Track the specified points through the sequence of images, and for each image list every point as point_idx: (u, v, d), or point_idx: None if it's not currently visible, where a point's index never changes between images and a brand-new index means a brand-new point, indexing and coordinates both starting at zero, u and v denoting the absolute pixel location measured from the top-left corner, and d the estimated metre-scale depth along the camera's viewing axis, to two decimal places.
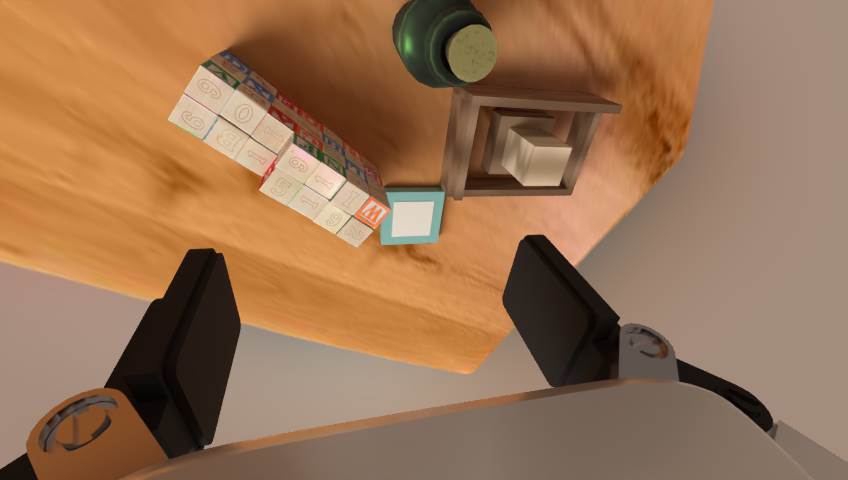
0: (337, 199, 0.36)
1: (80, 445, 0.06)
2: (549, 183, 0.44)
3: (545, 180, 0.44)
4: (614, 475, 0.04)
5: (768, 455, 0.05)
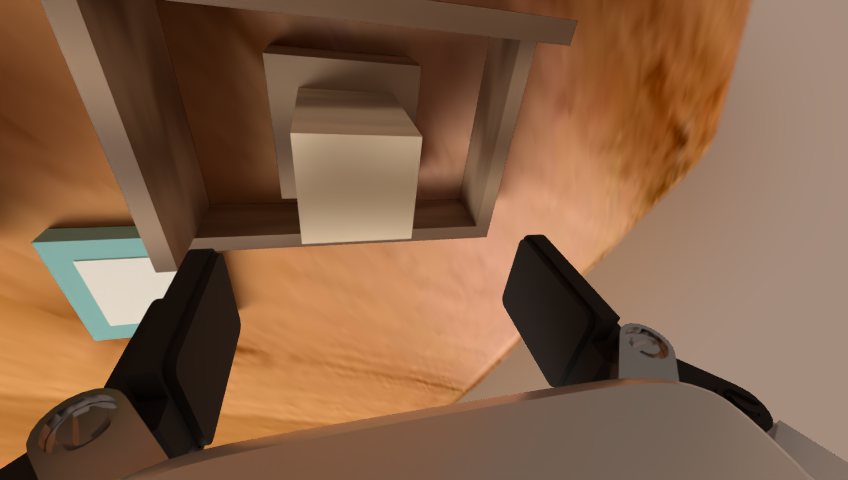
0: None
1: (80, 446, 0.06)
2: (380, 234, 0.16)
3: (365, 227, 0.16)
4: (614, 475, 0.04)
5: (768, 455, 0.05)
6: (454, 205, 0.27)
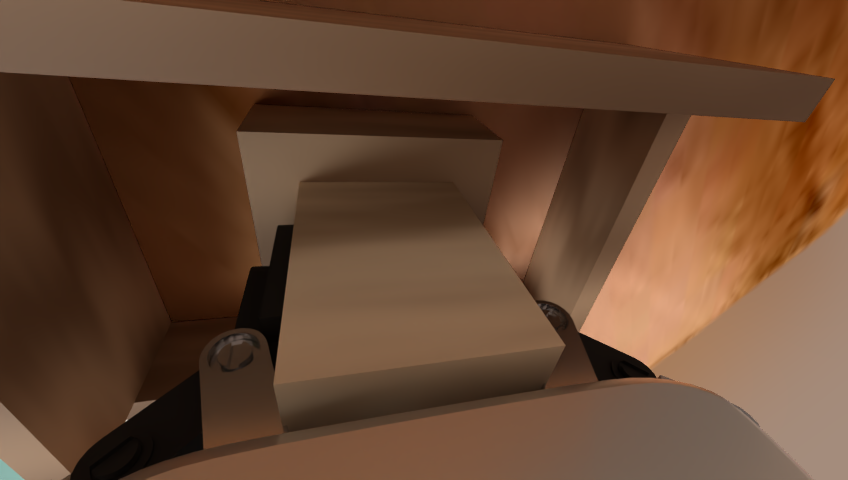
0: None
1: (230, 369, 0.07)
2: None
3: None
4: (614, 475, 0.04)
5: (768, 455, 0.05)
6: None
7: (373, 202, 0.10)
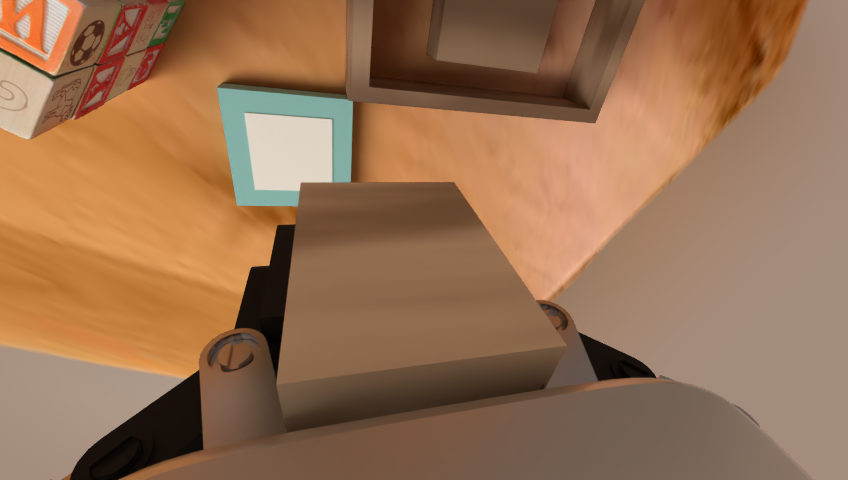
0: None
1: (230, 370, 0.07)
2: None
3: None
4: (614, 475, 0.04)
5: (768, 455, 0.05)
6: (561, 99, 0.30)
7: (374, 202, 0.10)
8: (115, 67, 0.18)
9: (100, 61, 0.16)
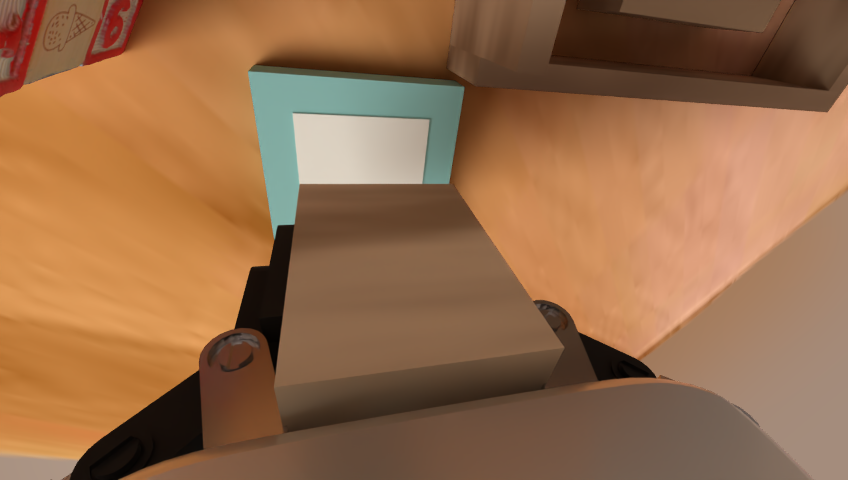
0: None
1: (230, 369, 0.07)
2: None
3: None
4: (614, 475, 0.04)
5: (768, 455, 0.05)
6: (758, 78, 0.20)
7: (373, 204, 0.10)
8: None
9: None
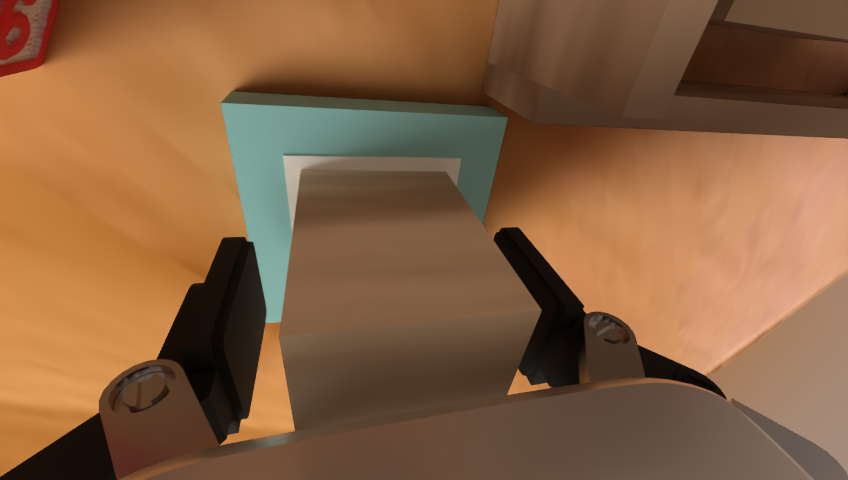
0: None
1: (141, 409, 0.06)
2: None
3: None
4: (614, 475, 0.04)
5: (768, 455, 0.05)
6: None
7: (370, 188, 0.11)
8: None
9: None
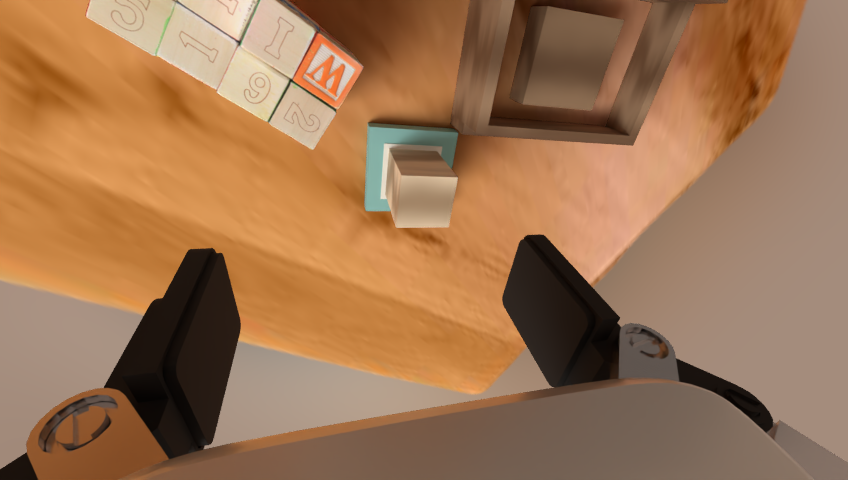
0: (252, 38, 0.19)
1: (80, 446, 0.06)
2: (433, 224, 0.32)
3: (426, 220, 0.32)
4: (614, 475, 0.04)
5: (768, 455, 0.05)
6: (605, 127, 0.40)
7: (412, 154, 0.34)
8: None
9: None
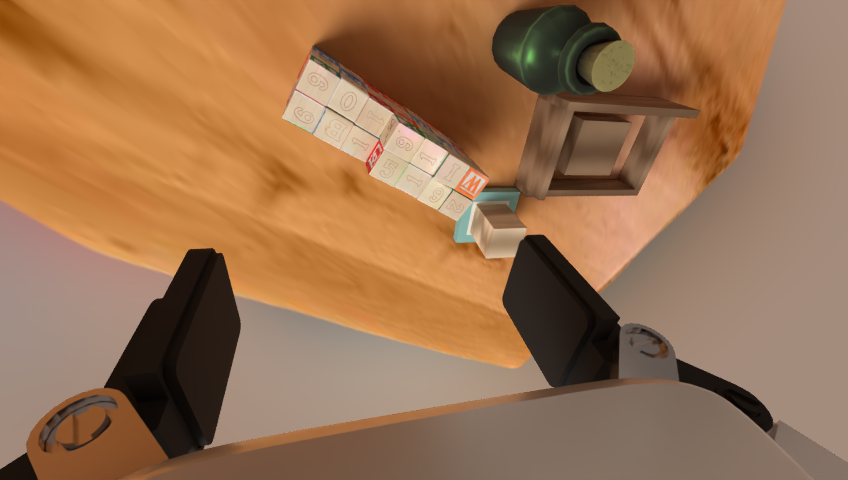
0: (440, 174, 0.37)
1: (80, 445, 0.06)
2: (509, 255, 0.51)
3: (505, 253, 0.50)
4: (614, 475, 0.04)
5: (768, 455, 0.05)
6: (618, 181, 0.58)
7: (492, 208, 0.52)
8: None
9: None
